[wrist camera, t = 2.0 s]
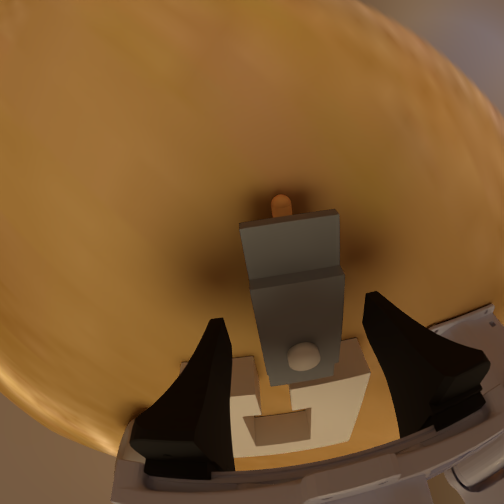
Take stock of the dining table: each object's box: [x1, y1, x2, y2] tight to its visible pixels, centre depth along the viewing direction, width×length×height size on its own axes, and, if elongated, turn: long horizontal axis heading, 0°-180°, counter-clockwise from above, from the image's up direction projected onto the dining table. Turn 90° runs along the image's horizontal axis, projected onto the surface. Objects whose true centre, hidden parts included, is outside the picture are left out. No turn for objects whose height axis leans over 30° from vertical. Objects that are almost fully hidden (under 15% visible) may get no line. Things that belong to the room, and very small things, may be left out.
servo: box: [239, 194, 345, 386], centre depth 15 cm, size 4×11×6 cm, turn 9°
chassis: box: [179, 338, 371, 458], centre depth 22 cm, size 14×14×4 cm
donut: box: [114, 419, 146, 476], centre depth 22 cm, size 10×4×10 cm, turn 148°
